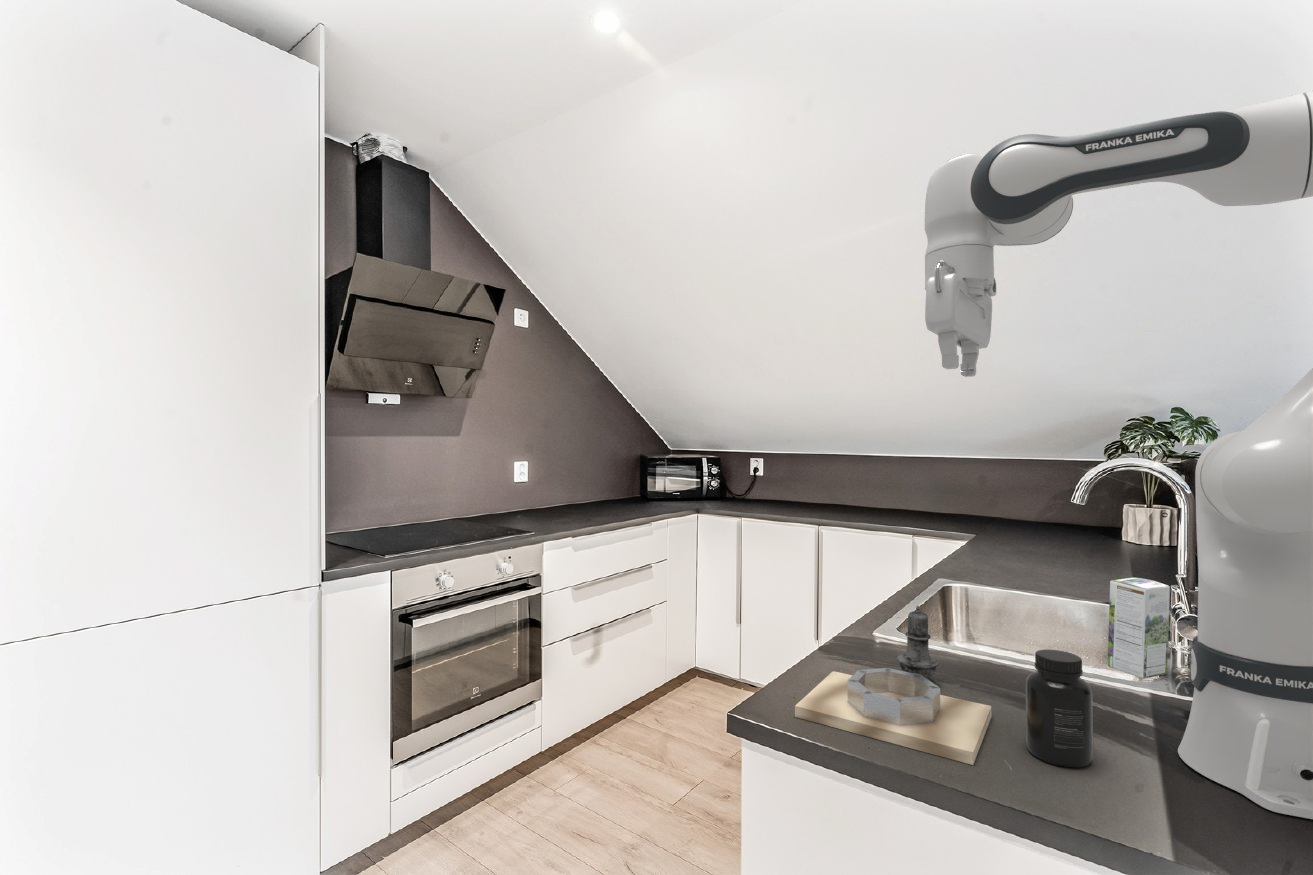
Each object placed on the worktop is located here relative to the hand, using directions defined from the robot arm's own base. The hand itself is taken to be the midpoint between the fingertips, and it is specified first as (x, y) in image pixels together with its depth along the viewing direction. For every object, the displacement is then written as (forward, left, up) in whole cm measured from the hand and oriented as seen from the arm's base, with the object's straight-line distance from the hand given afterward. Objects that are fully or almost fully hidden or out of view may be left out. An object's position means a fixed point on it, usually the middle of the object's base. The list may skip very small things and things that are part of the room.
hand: (959, 372), depth 91 cm
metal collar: (+6, +9, -46) cm, 47 cm away
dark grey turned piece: (+6, -5, -47) cm, 48 cm away
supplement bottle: (-13, +8, -47) cm, 50 cm away
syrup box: (-22, -30, -47) cm, 60 cm away
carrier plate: (+6, +9, -47) cm, 48 cm away
